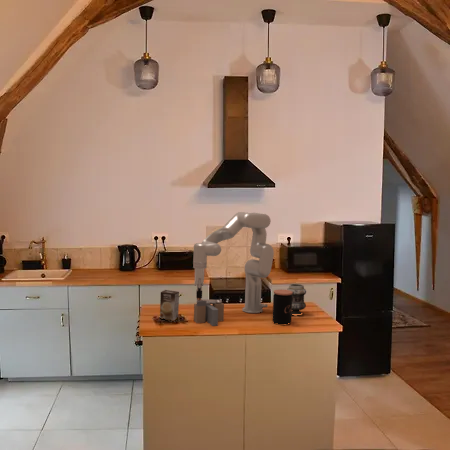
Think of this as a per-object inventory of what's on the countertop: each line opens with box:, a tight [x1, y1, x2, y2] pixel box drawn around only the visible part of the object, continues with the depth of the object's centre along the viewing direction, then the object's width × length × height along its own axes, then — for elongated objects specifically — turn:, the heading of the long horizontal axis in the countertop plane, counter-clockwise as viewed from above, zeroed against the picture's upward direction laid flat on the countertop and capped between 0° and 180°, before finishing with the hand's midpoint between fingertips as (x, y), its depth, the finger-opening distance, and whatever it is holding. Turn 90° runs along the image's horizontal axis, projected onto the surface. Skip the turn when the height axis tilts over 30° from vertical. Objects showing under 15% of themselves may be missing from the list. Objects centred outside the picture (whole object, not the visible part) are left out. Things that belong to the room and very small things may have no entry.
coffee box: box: [159, 289, 180, 320], centre depth 287 cm, size 9×6×16 cm
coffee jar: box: [271, 289, 293, 324], centre depth 288 cm, size 11×11×18 cm
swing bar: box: [196, 298, 223, 304], centre depth 288 cm, size 14×4×8 cm, turn 90°
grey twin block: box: [193, 300, 225, 327], centre depth 287 cm, size 16×20×12 cm
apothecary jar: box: [286, 283, 307, 314], centre depth 307 cm, size 12×12×18 cm
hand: (199, 297), depth 288 cm, fingers closed on swing bar, 2 cm apart
